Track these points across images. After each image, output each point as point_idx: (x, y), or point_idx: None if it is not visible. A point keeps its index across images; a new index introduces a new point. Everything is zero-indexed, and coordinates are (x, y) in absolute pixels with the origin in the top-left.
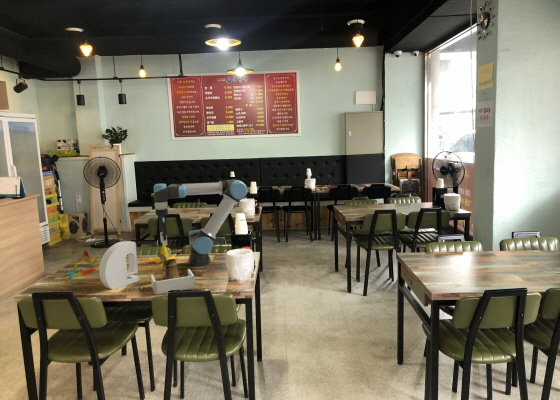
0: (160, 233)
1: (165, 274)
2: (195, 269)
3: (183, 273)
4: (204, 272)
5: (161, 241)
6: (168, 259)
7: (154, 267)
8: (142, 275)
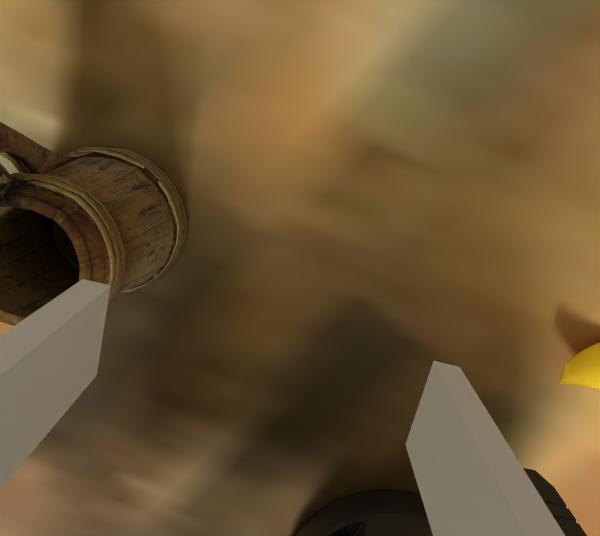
0: (509, 514)
1: (91, 159)
2: (219, 474)
3: (175, 352)
4: (82, 490)
5: (436, 381)
6: (86, 257)
7: (589, 215)
8: (406, 3)
